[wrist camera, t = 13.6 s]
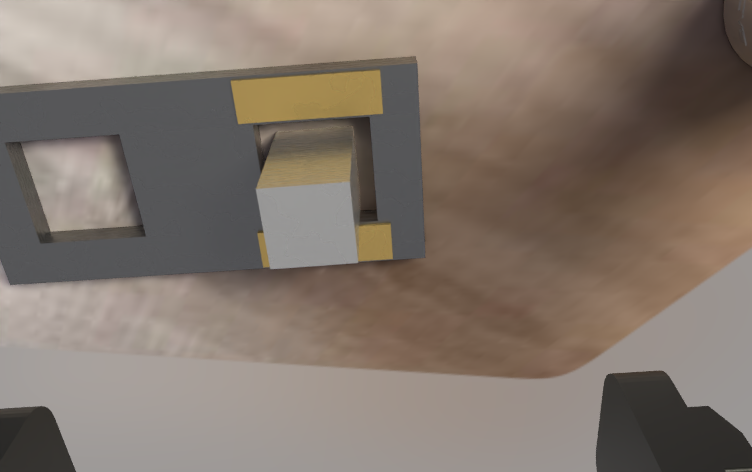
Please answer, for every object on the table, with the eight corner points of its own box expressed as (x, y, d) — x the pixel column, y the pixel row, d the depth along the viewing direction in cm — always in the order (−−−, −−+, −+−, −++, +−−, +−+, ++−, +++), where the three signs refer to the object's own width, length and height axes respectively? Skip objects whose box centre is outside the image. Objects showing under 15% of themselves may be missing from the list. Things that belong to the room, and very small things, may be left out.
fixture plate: (415, 56, 37) (417, 64, 36) (423, 245, 43) (425, 259, 41) (-48, 90, 38) (-65, 99, 36) (21, 272, 44) (8, 286, 42)
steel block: (353, 125, 39) (349, 181, 32) (360, 196, 41) (358, 262, 34) (276, 131, 39) (255, 188, 32) (287, 201, 41) (270, 269, 34)
